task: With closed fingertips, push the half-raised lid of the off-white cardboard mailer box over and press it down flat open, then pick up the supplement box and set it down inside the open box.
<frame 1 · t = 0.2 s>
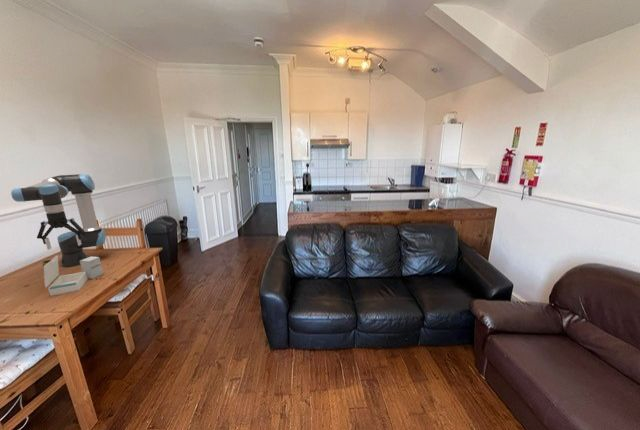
hand: (65, 246, 154), 27 cm above the table, fingers open, 13 cm apart
supplement box: (94, 276, 176), on the table
lid: (53, 270, 157), point 12 cm above the table, hinge at 80.0°
mailer box: (70, 286, 162), on the table
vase: (54, 281, 169), on the table
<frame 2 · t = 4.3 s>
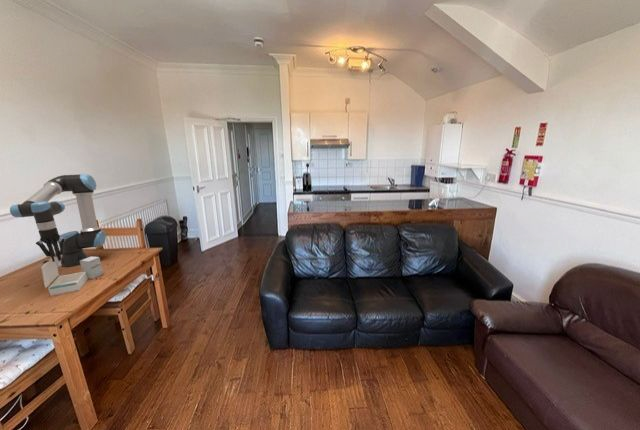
hand: (59, 265, 158), 15 cm above the table, fingers closed
lid: (52, 270, 157), point 12 cm above the table, hinge at 84.7°, touching gripper
everything else where it was.
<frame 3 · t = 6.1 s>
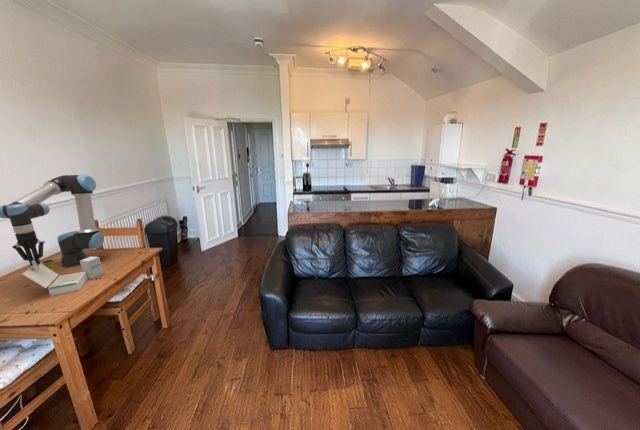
hand: (37, 269, 154), 14 cm above the table, fingers closed
lid: (42, 273, 155), point 12 cm above the table, hinge at 124.3°, touching gripper
everything else where it was.
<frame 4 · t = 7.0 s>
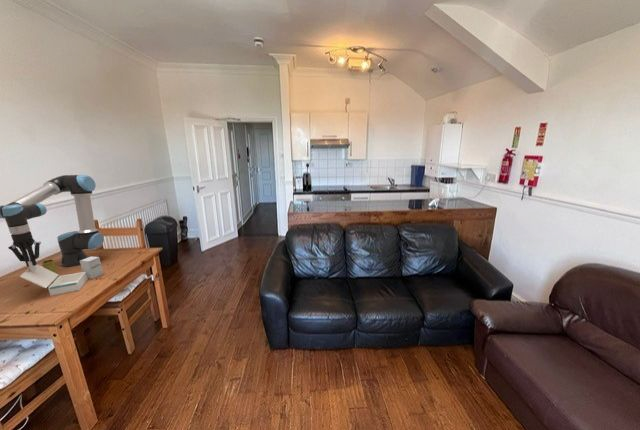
hand: (33, 270, 153), 14 cm above the table, fingers closed
lid: (41, 274, 155), point 11 cm above the table, hinge at 131.8°, touching gripper
everything else where it was.
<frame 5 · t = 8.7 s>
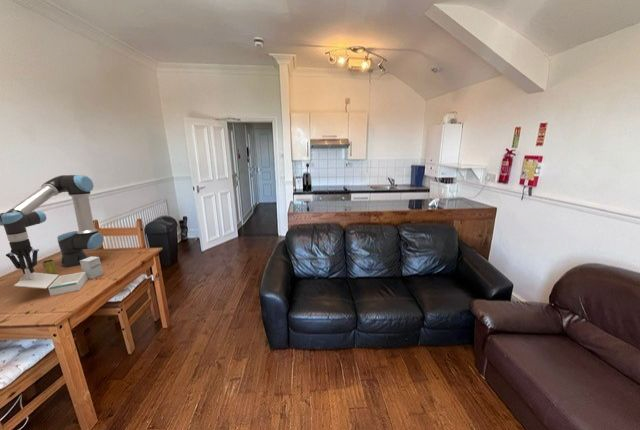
hand: (30, 278, 153), 10 cm above the table, fingers closed
lid: (38, 278, 155), point 9 cm above the table, hinge at 157.9°, touching gripper
everything else where it was.
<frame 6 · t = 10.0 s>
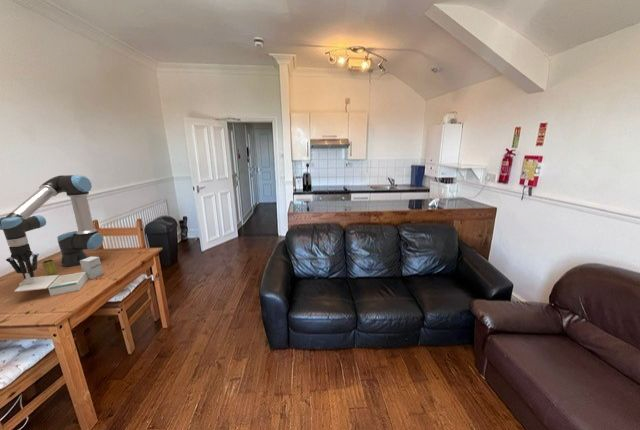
hand: (31, 282, 154), 7 cm above the table, fingers closed
lid: (37, 281, 155), point 7 cm above the table, hinge at 173.2°, touching gripper
everything else where it was.
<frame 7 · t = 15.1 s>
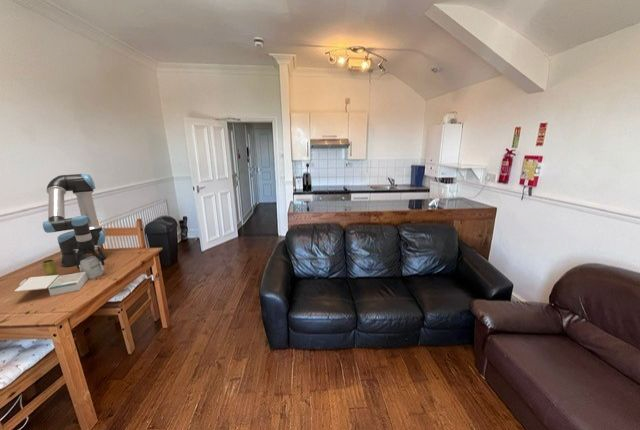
hand: (92, 271, 175), 3 cm above the table, fingers closed on supplement box, 10 cm apart
supplement box: (94, 276, 176), on the table, touching gripper
lid: (37, 281, 155), point 7 cm above the table, hinge at 173.2°
everything else where it was.
when the fingers open (6 cm above the table, at t = 20.7 s): supplement box drops 2 cm, resting on mailer box.
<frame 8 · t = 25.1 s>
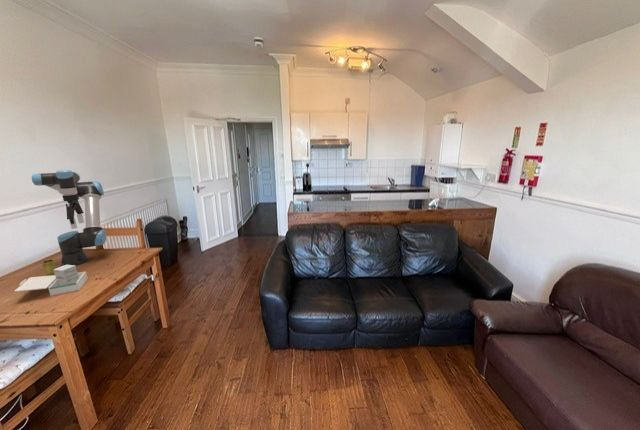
hand: (78, 225, 176), 33 cm above the table, fingers open, 13 cm apart
supplement box: (69, 286, 163), resting on mailer box
everything else where it was.
at the end: lid at +173° (first picture: +80°); supplement box inside the target area on the mailer box (0.4 cm from its centre), point 0.4 cm above the mailer box's base; supplement box tilted 0° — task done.
